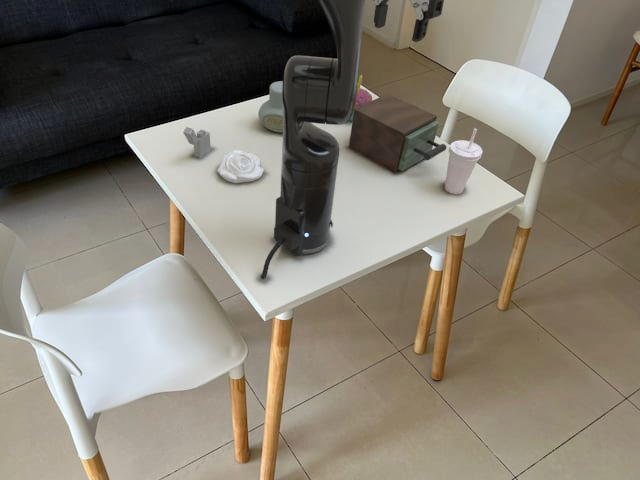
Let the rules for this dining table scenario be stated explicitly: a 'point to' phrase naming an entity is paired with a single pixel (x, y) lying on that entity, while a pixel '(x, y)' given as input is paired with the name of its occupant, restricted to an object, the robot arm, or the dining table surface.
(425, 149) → the drawer
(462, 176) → the smoothie
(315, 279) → the dining table surface
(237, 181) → the rose
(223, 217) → the dining table surface
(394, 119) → the cabinet
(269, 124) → the air freshener
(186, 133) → the lighter
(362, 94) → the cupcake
